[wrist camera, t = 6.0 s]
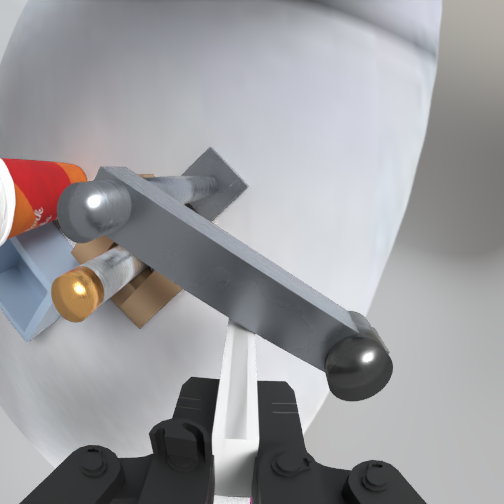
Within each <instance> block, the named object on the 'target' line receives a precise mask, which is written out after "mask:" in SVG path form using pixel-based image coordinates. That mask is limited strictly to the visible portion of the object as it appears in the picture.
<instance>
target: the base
mask: <svg viewBox="0 0 504 504" xmlns="http://www.w3.org/2000/svg"><path fill="white" fill-rule="evenodd" d="M181 176H212V177H214V178H215V179H216V180H217V182H218V189H217V191H216V192H215V193H214V194H213V195H210V196H207V197H204V198H201V199H199V200H196V201H193V202H190V203H189V204H190V205H191V206H192V207H193V208H194V209H195V210H196V211H197V212H198V214H199V215H201V216H202V217H204V218H205V219H207V220H208V221H210V222H211V221H212V220H213V219H214V218H215V217H216V216H217V215H218V214H219V213H221V212H222V211H223V210H224V209H225V208H226V207H227V206H228V205H229V204H230V203H231V202H232V201H233V200H234V199H235V198H237V197H238V196H239V195H240V194H241V193H242V192H243V191H244V190H245V189H246V188H247V187H248V185H247V184H246V183H245V182H244V181H243V179H242V178H241V177H240V176H239V175H238V174H237V173H236V172H235V171H234V170H233V169H232V168H231V167H230V166H229V165H228V164H227V163H226V162H225V161H224V159H223V158H222V157H221V156H220V155H219V154H218V153H217V152H216V151H215V150H214V149H213V148H211V147H210V148H209V149H208V150H207V151H206V152H205V153H204V154H203V155H202V156H201V157H199V158H198V159H197V160H196V161H195V162H194V163H193V164H192V165H191V166H190V167H189V168H188V169H187V170H186V171H185V172H184V173H183V174H182V175H181Z"/></svg>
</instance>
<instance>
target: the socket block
mask: <svg viewBox="0 0 504 504" xmlns="http://www.w3.org/2000/svg"><path fill="white" fill-rule="evenodd" d="M139 176H140V177H142V178H147V177H155V176H154V175H153V174H141V175H139ZM116 246H118V244H117V243H115V242H114V241H112V240H111V239H110V238H108V237H107V236H105V235H104V236H102V237H99V238H97V239H95V240H92V241H90V242H87V243H77V244H76V245H75V247H74V248H73V250H72V251H71V254H72V255H73V256H74V258H75V259H76V260H77V261H78V262H79V264H80V265H81V264H83V263H85V262H87V261H89V260H91V259H92V258H94V257H96V256H98V255H100V254H102V253H104V252H106V251H108V250H110V249H112V248H114V247H116ZM182 289H183V288H181V287H180V286H178V285H177V284H175V283H174V282H172V281H171V280H169V279H168V278H166V277H165V276H163V275H162V274H160V273H159V272H157V271H156V270H155V271H154V272H153V271H152V270H151V269H150V268H149V267H147V268H146V269H145V270H143V271H142V272H141V273H140V274H138V275H137V276H136V277H135V278H133V279H132V280H131V281H130V282H128V283H127V284H126V285H125V286H124V287H122V288H121V289H120V290H119V291H117V292H116V293H115V294H114V295H113V296H111V297H110V299H111V300H112V301H113V302H114V303H115V304H116V305H117V306H118V307H119V308H120V309H121V310H122V311H123V312H124V313H125V315H126V316H127V317H128V318H129V319H130V320H131V321H132V322H133V323H134V324H135V325H136V326H137V327H138V328H139V329H140V328H141V327H142V326H143V325H145V324H146V323H147V322H148V321H149V320H150V319H151V318H152V317H153V316H154V315H155V314H156V313H157V312H158V311H159V310H160V309H161V308H163V307H164V306H165V305H166V304H167V303H168V302H169V301H170V300H171V299H172V298H173V297H174V296H175V295H176V294H177V293H179V292H180V291H181V290H182Z"/></svg>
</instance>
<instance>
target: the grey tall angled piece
mask: <svg viewBox="0 0 504 504" xmlns="http://www.w3.org/2000/svg"><path fill="white" fill-rule="evenodd" d="M217 189H218V182H217V180H216V179H215V178H214V177H212V176H172V177H147V178H142V177H140V176H139V175H137V174H135V173H134V172H132V171H131V170H129V169H128V168H126V167H100V169H99V171H98V173H97V175H96V177H95V180H94V181H87V182H77V183H73V184H71V185H69V186H68V187H66V188H65V189H64V191H63V192H62V194H61V195H60V198H59V200H58V204H57V218H58V223H59V225H60V228H61V230H62V231H63V233H64V234H65V235H66V237H68V238H69V239H70V240H72V241H73V242H76V243H87V242H90V241H92V240H95V239H97V238H99V237H102V236H104V235H105V236H107V237H108V238H110V239H111V240H112V241H114V242H115V243H117V244H118V245H119V246H121V247H122V248H124V249H125V250H127V251H128V252H129V253H131V254H132V255H134V256H135V257H137V258H138V259H139V260H141V261H142V262H144V263H145V264H147V265H148V266H150V267H151V268H153V269H154V270H156V271H157V272H159V273H160V274H162V275H163V276H165V277H166V278H168V279H169V280H171V281H172V282H174V283H175V284H177V285H178V286H180V287H181V288H183V289H184V290H186V291H187V292H189V293H191V294H192V295H194V296H195V297H197V298H198V299H200V300H201V301H203V302H205V303H206V304H208V305H209V306H211V307H213V308H214V309H216V310H217V311H219V312H221V313H222V314H224V315H226V316H227V317H229V318H231V319H232V320H234V321H235V322H237V323H239V324H240V325H242V326H244V327H245V328H247V329H249V330H251V331H252V332H254V333H256V334H257V335H259V336H261V337H262V338H264V339H266V340H268V341H269V342H271V343H273V344H275V345H276V346H278V347H280V348H282V349H283V350H285V351H287V352H289V353H291V354H292V355H294V356H296V357H298V358H300V359H301V360H303V361H305V362H307V363H309V364H311V365H312V366H314V367H316V368H318V369H320V370H322V371H324V372H325V373H326V377H327V381H328V385H329V388H330V391H331V392H332V393H333V395H335V396H336V397H337V398H339V399H342V400H345V401H360V400H364V399H367V398H369V397H372V396H374V395H375V394H377V393H378V392H379V391H381V390H382V389H383V388H384V387H385V386H386V384H387V383H388V381H389V380H390V378H391V375H392V370H393V364H392V360H391V358H390V357H389V355H388V354H389V351H388V349H387V348H386V346H385V344H384V342H383V341H382V339H381V338H380V336H379V334H378V333H377V331H376V330H375V329H374V328H373V327H371V325H370V324H369V322H368V320H367V319H366V318H365V317H364V316H363V315H361V314H360V313H357V312H354V311H347V310H345V309H344V308H342V307H341V306H339V305H338V304H336V303H335V302H333V301H332V300H330V299H328V298H327V297H325V296H324V295H322V294H321V293H319V292H318V291H316V290H315V289H313V288H312V287H310V286H309V285H307V284H305V283H304V282H302V281H301V280H299V279H298V278H296V277H295V276H293V275H292V274H290V273H289V272H287V271H285V270H284V269H282V268H281V267H279V266H278V265H276V264H275V263H273V262H272V261H270V260H268V259H267V258H265V257H264V256H262V255H261V254H259V253H258V252H256V251H255V250H253V249H252V248H250V247H248V246H247V245H245V244H244V243H242V242H241V241H239V240H238V239H236V238H235V237H233V236H231V235H230V234H228V233H227V232H225V231H224V230H222V229H221V228H219V227H218V226H216V225H214V224H213V223H211V222H210V221H208V220H207V219H205V218H204V217H202V216H201V215H199V214H197V213H196V212H194V211H193V210H191V209H190V208H188V207H187V206H185V204H187V203H190V202H193V201H196V200H199V199H201V198H204V197H207V196H210V195H213V194H214V193H215V192H216V191H217Z"/></svg>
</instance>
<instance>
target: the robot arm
mask: <svg viewBox="0 0 504 504" xmlns="http://www.w3.org/2000/svg"><path fill="white" fill-rule="evenodd" d="M149 436H150V440H151V445H152V449H153V454H151V455H148V456H145V457H138V458H118V457H117V456H116V454H115V453H113V452H112V451H111V450H109V449H108V448H105V447H102V446H99V445H88V446H84V447H80V448H79V449H77V450H75V451H74V452H72V453H71V454H70V455H69V456H68V457H67V458H66V459H65V460H64V461H63V462H62V463H61V464H60V465H59V466H58V467H57V468H56V469H55V470H54V471H53V472H52V473H51V474H50V475H49V476H48V477H47V478H46V479H45V480H44V481H43V482H42V483H40V484H39V485H38V486H37V487H36V488H35V489H34V490H33V491H32V492H31V493H30V494H29V495H28V496H27V497H26V498H25V499H24V500H23V501H22V502H21V503H20V504H213V501H214V495H221V496H229V497H252V504H426V502H425V501H424V500H423V499H422V498H421V497H420V496H419V494H418V493H417V492H416V491H415V490H414V489H413V487H412V486H411V485H410V484H409V483H408V482H407V481H406V479H405V478H404V477H403V476H402V475H401V473H400V472H399V471H398V470H397V469H396V468H395V467H393V466H392V465H391V464H388V463H386V462H383V461H376V460H370V461H365V462H362V463H360V464H358V465H357V466H355V467H354V468H353V469H352V471H351V470H343V469H336V468H331V467H327V466H323V465H321V464H319V463H317V462H316V461H315V460H314V458H313V457H312V456H311V455H310V454H309V453H307V451H306V448H305V444H304V438H303V433H302V428H301V423H300V418H299V414H298V408H297V404H296V398H295V393H294V390H293V389H292V388H291V387H290V386H289V385H288V383H287V382H286V381H257V369H256V342H255V333H254V332H252V331H251V330H249V329H247V328H245V327H244V326H242V325H240V324H239V323H237V322H235V321H234V320H232V319H231V318H229V322H228V329H227V335H226V342H225V349H224V356H223V362H222V369H221V376H220V379H210V378H199V377H191V378H190V379H189V380H188V381H187V382H185V383H184V384H183V385H182V388H181V391H180V395H179V398H178V401H177V404H176V408H175V411H174V414H173V417H172V419H169V420H165V421H162V422H160V423H159V424H157V425H155V426H154V427H153V428H152V430H151V431H150V433H149Z"/></svg>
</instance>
